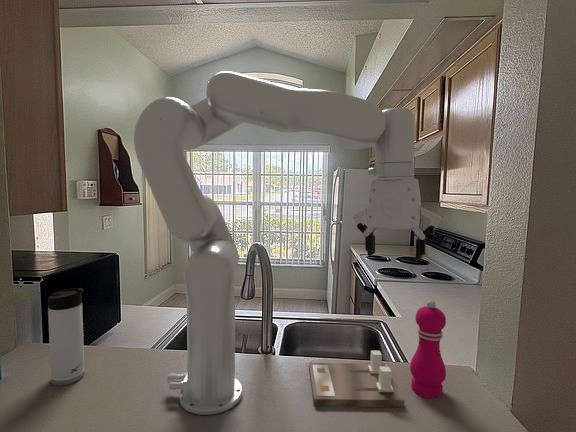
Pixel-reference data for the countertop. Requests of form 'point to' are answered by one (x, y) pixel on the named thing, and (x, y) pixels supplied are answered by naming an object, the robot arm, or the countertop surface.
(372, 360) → the tab
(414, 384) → the pepper mill
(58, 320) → the travel mug
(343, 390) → the switch board
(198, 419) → the countertop surface
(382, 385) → the tab
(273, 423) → the countertop surface
